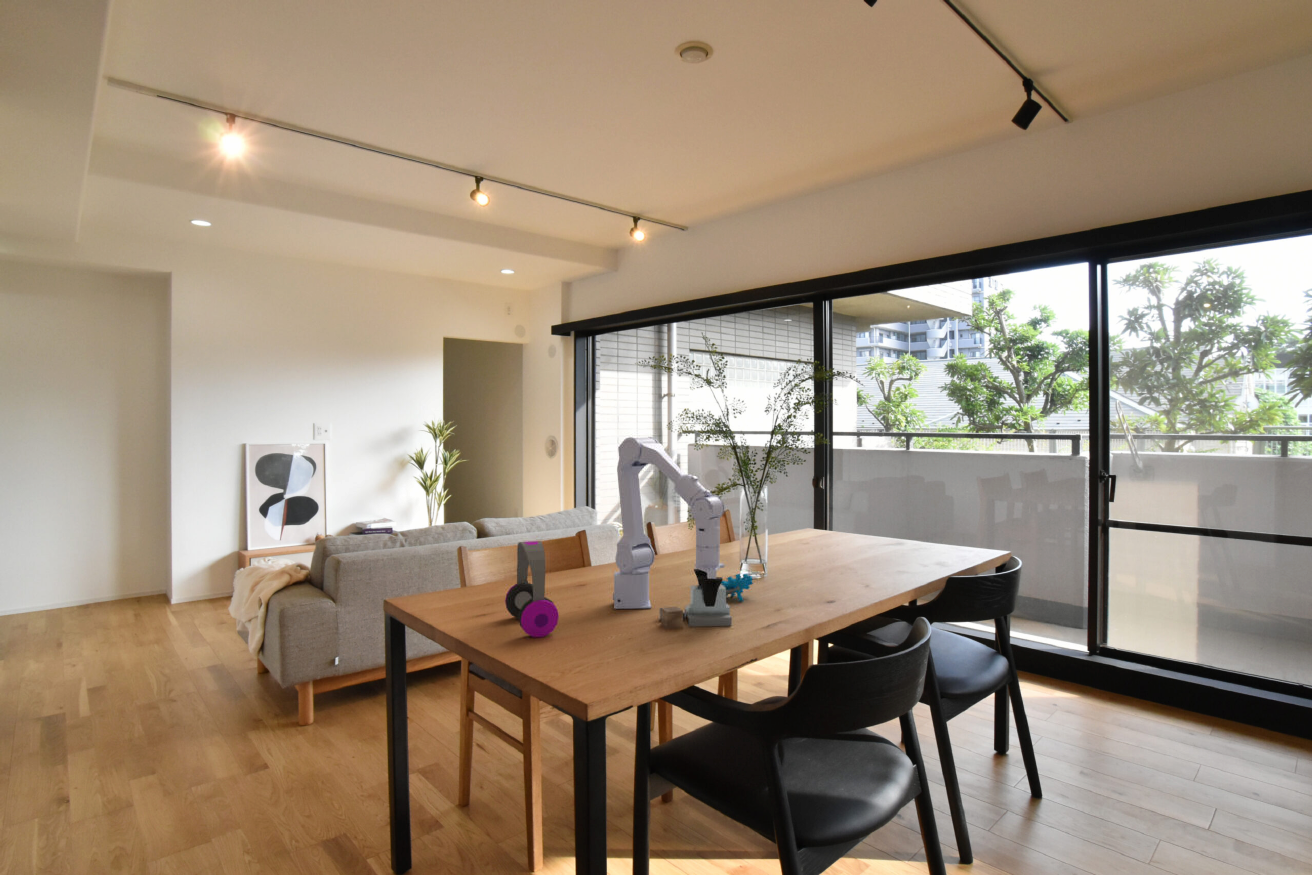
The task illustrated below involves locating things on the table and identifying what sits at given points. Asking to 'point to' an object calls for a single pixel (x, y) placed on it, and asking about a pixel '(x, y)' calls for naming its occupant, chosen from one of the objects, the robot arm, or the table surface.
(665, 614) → the walnut block
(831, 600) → the table surface
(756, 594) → the table surface
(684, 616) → the bolt
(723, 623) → the stand
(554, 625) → the headphones
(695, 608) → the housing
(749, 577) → the blue bumpy figure
